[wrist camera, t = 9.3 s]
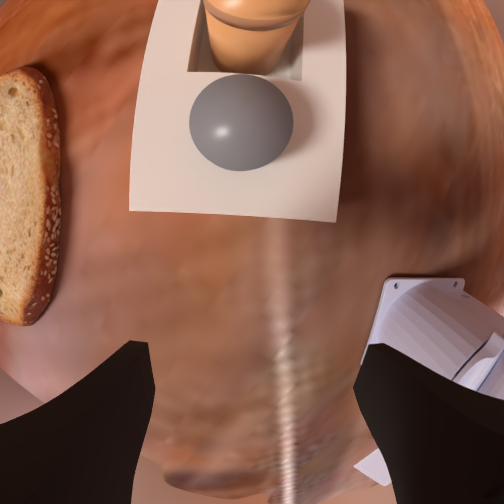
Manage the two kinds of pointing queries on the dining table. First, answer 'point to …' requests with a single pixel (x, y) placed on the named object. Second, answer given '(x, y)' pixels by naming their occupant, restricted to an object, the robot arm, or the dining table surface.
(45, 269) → the bread slice
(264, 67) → the orange tapered cylinder
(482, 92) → the dining table surface
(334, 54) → the cream block with recess
